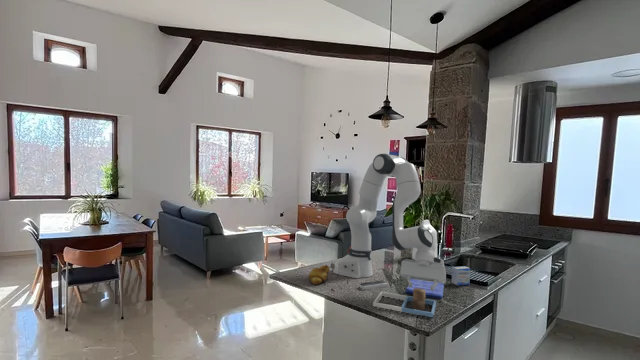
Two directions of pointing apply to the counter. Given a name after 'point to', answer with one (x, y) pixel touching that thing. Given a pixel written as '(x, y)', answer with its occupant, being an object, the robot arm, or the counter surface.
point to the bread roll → (319, 274)
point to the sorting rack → (404, 304)
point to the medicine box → (461, 275)
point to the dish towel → (426, 288)
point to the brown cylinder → (419, 299)
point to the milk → (428, 226)
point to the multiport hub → (373, 285)
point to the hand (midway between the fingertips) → (420, 288)
